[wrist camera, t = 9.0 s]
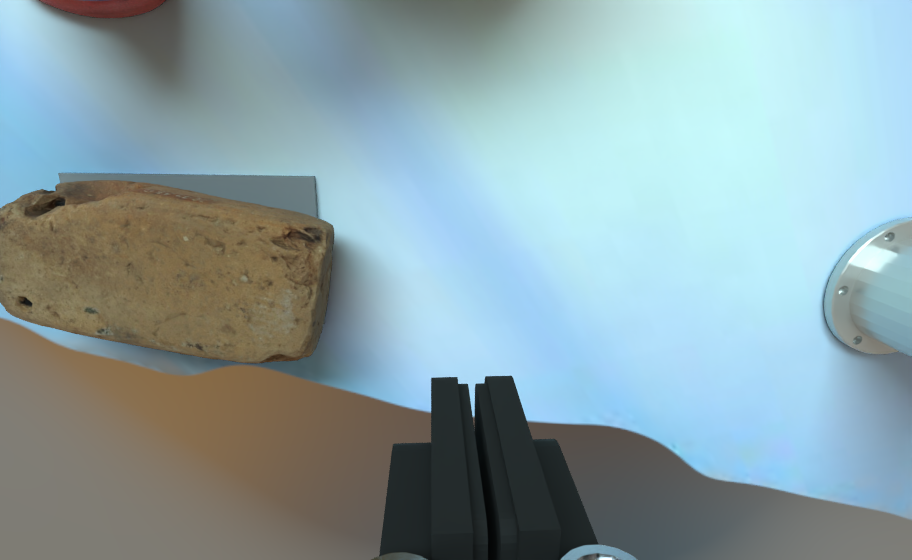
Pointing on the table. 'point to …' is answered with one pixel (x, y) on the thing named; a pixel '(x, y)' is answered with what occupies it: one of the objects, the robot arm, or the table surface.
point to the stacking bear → (105, 7)
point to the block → (167, 269)
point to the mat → (228, 187)
